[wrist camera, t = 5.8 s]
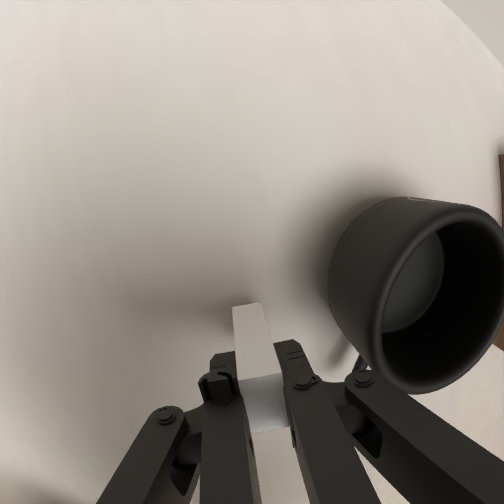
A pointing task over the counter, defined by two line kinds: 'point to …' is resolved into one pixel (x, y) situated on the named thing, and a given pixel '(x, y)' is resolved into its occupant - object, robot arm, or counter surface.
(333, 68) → the counter surface
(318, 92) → the counter surface
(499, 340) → the long brown box
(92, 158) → the counter surface
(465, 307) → the mug
